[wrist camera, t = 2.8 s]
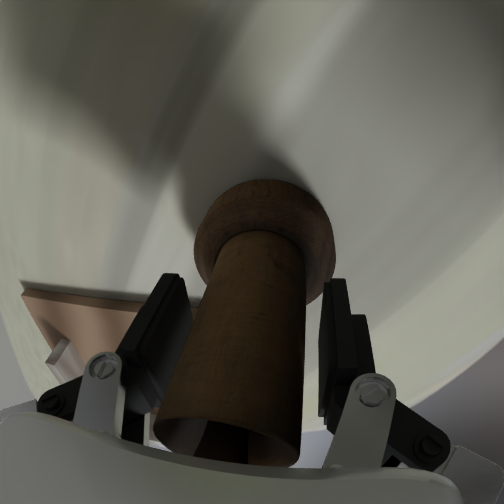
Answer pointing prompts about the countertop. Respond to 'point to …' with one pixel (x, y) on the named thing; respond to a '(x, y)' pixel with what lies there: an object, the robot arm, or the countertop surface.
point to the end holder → (82, 331)
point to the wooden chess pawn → (249, 327)
